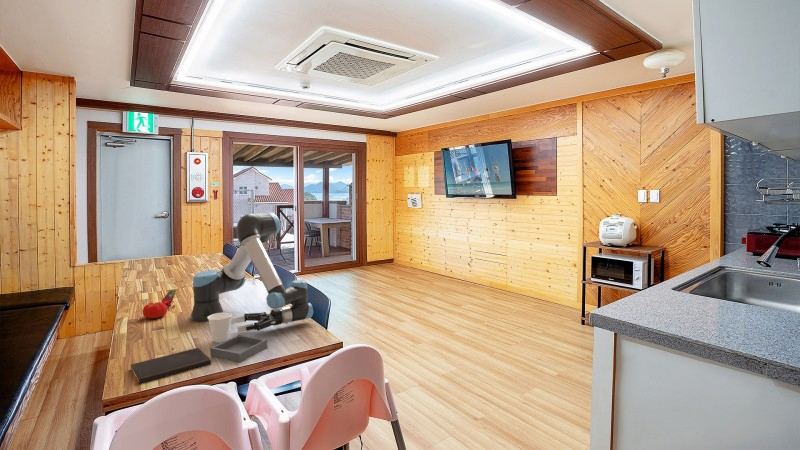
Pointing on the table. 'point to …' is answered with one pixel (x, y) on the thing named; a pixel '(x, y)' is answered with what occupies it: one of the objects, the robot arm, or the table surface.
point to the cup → (220, 326)
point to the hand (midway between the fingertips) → (233, 325)
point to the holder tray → (238, 348)
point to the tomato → (154, 310)
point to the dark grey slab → (169, 365)
